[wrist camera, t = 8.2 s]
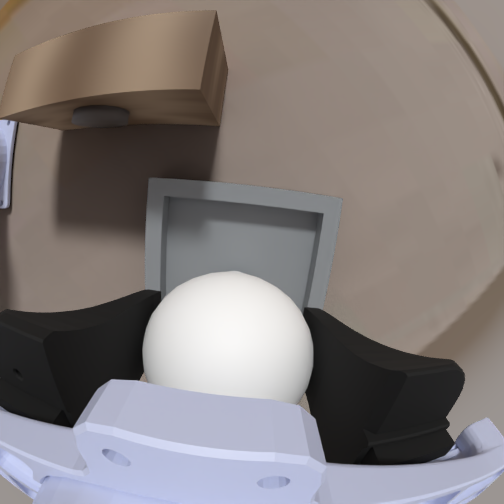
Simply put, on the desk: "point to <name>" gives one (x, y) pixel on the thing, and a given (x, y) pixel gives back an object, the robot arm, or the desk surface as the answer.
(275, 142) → the desk surface
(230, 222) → the tray
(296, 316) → the lightbulb
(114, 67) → the lamp housing
